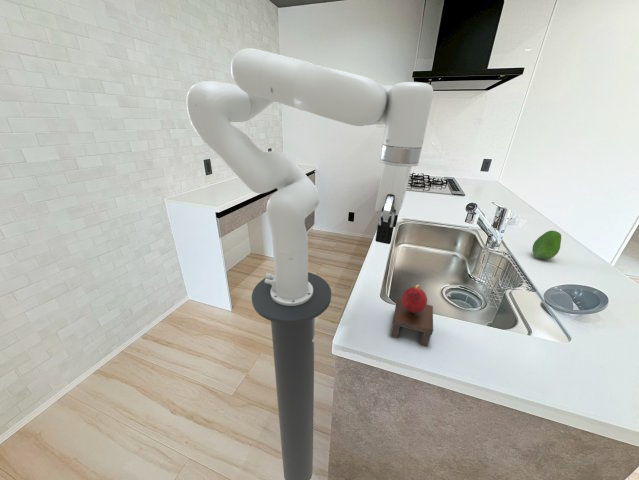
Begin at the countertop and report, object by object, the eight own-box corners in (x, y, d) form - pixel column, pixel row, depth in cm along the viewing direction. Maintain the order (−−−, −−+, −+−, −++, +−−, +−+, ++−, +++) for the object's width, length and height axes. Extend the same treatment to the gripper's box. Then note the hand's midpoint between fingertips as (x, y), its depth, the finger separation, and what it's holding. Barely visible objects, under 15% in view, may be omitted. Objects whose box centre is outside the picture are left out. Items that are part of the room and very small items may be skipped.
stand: (390, 336, 65) (393, 319, 62) (394, 313, 72) (397, 297, 70) (428, 347, 62) (433, 330, 59) (428, 321, 69) (432, 305, 67)
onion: (421, 323, 61) (428, 296, 58) (397, 314, 64) (402, 288, 60) (425, 308, 66) (432, 283, 62) (402, 301, 68) (407, 276, 65)
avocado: (558, 264, 98) (572, 235, 93) (535, 262, 99) (547, 233, 94) (546, 254, 105) (558, 227, 100) (524, 252, 106) (535, 225, 101)
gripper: (386, 149, 59) (376, 218, 67) (373, 159, 45) (361, 246, 53) (421, 152, 57) (406, 223, 65) (418, 164, 43) (399, 254, 50)
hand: (386, 233), depth 59 cm, fingers open, 9 cm apart
